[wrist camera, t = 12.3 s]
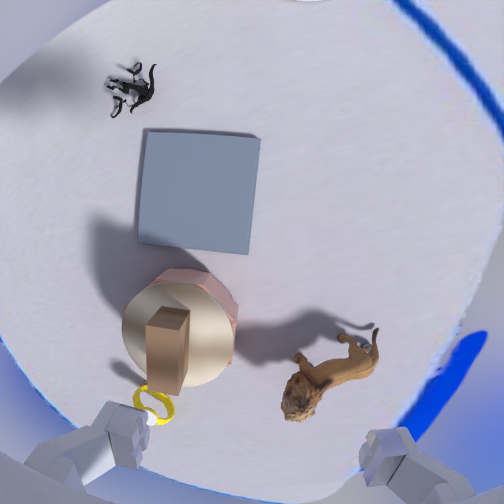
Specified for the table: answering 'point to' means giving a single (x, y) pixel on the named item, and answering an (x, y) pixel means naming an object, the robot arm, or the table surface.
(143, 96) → the creature
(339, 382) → the lion figurine
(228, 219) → the mat
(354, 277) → the table surface
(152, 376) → the lid
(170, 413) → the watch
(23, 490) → the robot arm
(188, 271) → the octagonal planter
